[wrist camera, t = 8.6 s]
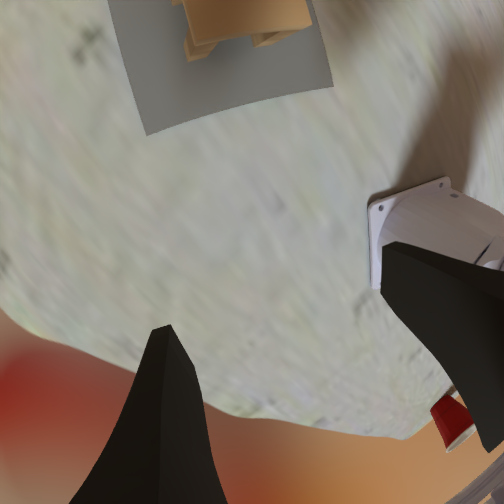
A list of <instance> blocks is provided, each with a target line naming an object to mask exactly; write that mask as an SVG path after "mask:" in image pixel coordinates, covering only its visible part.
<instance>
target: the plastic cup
mask: <svg viewBox="0 0 504 504" xmlns="http://www.w3.org/2000/svg"><path fill="white" fill-rule="evenodd" d="M430 412H431V415H432V417H433V419H434V421H435V423H436V425H437V428H438V430H439V432H440V434H441V436H442V438H443V440H444V443H445V446H446V452H447V453H448V452H450V451H452V450H453V449H455V448H456V447H458V446H459V445H460V444H461V443H463V442H464V441H465V440H466V439H467V438H468V437H469V436H471V435H472V434H473V433H474V432H475V431H476V430H477V429H476V426H475V424H474V422H473V419H472V417H471V415H470V413H469V411H468V409H467V408H465V407H464V406H463V405H462V404H460V403H459V402H457V401H456V400H455V399H454V398H453V397H451V396H449V395H446V396H444V397H443V398H441V399H440V400H439V401H438V402H437V403H436V404H435V405H434V406H433V407H432V408H431V410H430Z"/></svg>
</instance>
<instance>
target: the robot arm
mask: <svg viewBox="0 0 504 504" xmlns="http://www.w3.org/2000/svg"><path fill="white" fill-rule="evenodd" d="M380 205H381V207H380V209H379V206H380ZM368 219H369V237H370V269H371V287H372V288H373V289H374V290H377V289H379V288H381V291H380V293H381V295H382V296H383V298H384V299H385V300H386V302H387V303H388V305H389V306H390V307H391V309H392V310H393V312H394V313H395V314H396V315H397V316H398V318H399V319H400V320H401V321H402V322H403V323H404V324H405V325H406V326H407V327H408V328H409V329H410V330H411V332H412V333H413V334H414V335H415V336H416V337H417V338H418V339H419V340H420V341H421V342H422V343H423V344H424V346H425V347H426V348H427V349H428V350H429V351H430V352H431V353H432V354H433V356H434V357H435V358H436V359H437V360H438V362H439V363H440V364H441V366H442V367H443V369H444V370H445V372H446V373H447V375H448V376H449V378H450V379H451V381H452V382H453V384H454V386H455V387H456V389H457V391H458V392H459V394H460V396H461V397H462V399H463V401H464V403H465V405H466V407H467V409H468V411H469V413H470V415H471V417H472V419H473V422H474V424H475V426H476V429H477V431H478V434H479V436H480V439H481V442H482V445H483V447H484V448H485V450H486V451H487V452H488V453H490V452H491V451H492V450H493V449H494V448H496V447H497V446H498V445H499V444H500V443H501V442H502V441H503V440H504V215H503V214H502V213H500V212H499V211H498V210H496V209H494V208H492V207H490V206H488V205H486V204H484V203H482V202H480V201H478V200H476V199H474V198H472V197H470V196H467V195H465V194H463V193H461V192H459V191H456V190H454V189H452V188H451V179H450V178H449V177H447V176H445V177H442V178H439V179H436V180H434V181H431V182H428V183H425V184H422V185H419V186H417V187H414V188H411V189H408V190H405V191H403V192H400V193H397V194H394V195H391V196H389V197H386V198H383V199H380V200H377V201H375V202H372V203H371V204H370V205H369V207H368ZM493 489H494V490H493ZM492 490H493V491H492ZM491 491H492V492H491ZM490 492H491V496H492V497H491V498H490V499H489V500H488V501H486V502H485V503H484V504H504V453H503V454H502V455H501V456H500V457H499V458H498V459H497V460H496V461H495V462H493V464H491V466H489V467H488V468H487V469H486V470H485V471H484V472H483V473H482V474H481V475H479V476H478V477H477V478H476V479H475V480H474V481H473V482H471V483H470V484H469V485H468V486H467V487H465V488H464V489H463V490H462V491H461V492H459V493H458V494H457V495H455V496H454V497H453V498H452V499H450V500H449V501H448V502H446V503H445V504H478V503H479V502H480V501H481V500H482V499H483V498H485V496H487V495H488V494H489V493H490ZM69 504H228V503H227V501H226V498H225V495H224V492H223V489H222V487H221V484H220V481H219V478H218V475H217V471H216V468H215V465H214V461H213V457H212V453H211V447H210V442H209V436H208V430H207V424H206V418H205V412H204V406H203V399H202V393H201V390H200V386H199V382H198V378H197V375H196V371H195V367H194V365H193V363H192V361H191V360H190V358H189V356H188V355H187V353H186V351H185V349H184V348H183V346H182V344H181V342H180V341H179V339H178V337H177V335H176V333H175V332H174V330H173V328H172V326H171V324H170V325H166V326H163V327H160V328H157V329H154V330H152V332H151V334H150V336H149V339H148V342H147V345H146V348H145V351H144V354H143V356H142V359H141V362H140V365H139V368H138V371H137V373H136V376H135V379H134V381H133V385H132V387H131V390H130V392H129V395H128V397H127V400H126V402H125V404H124V407H123V409H122V412H121V414H120V417H119V419H118V421H117V423H116V426H115V427H114V430H113V432H112V434H111V436H110V438H109V440H108V442H107V444H106V446H105V448H104V449H103V451H102V453H101V455H100V457H99V458H98V460H97V462H96V463H95V465H94V467H93V468H92V470H91V472H90V473H89V475H88V477H87V478H86V480H85V481H84V483H83V484H82V486H81V487H80V489H79V490H78V492H77V493H76V494H75V496H74V497H73V498H72V500H71V501H70V502H69Z"/></svg>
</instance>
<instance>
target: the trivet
mask: <svg viewBox="0 0 504 504" xmlns="http://www.w3.org/2000/svg"><path fill="white" fill-rule="evenodd" d="M108 4H109V8H110V12H111V17H112V21H113V24H114V28H115V32H116V36H117V40H118V43H119V47H120V51H121V54H122V58H123V61H124V65H125V68H126V72H127V75H128V79H129V82H130V85H131V89H132V92H133V95H134V98H135V101H136V105H137V108H138V111H139V114H140V117H141V120H142V123H143V126H144V129H145V132H146V135H147V136H148V135H150V134H153V133H156V132H158V131H161V130H164V129H167V128H169V127H172V126H175V125H178V124H181V123H184V122H187V121H190V120H193V119H196V118H199V117H202V116H206V115H209V114H212V113H216V112H219V111H222V110H226V109H230V108H233V107H237V106H241V105H245V104H249V103H253V102H257V101H261V100H265V99H270V98H274V97H279V96H283V95H288V94H293V93H299V92H304V91H310V90H315V89H322V88H328V87H334V85H333V81H332V76H331V72H330V67H329V63H328V59H327V55H326V51H325V47H324V43H323V40H322V36H321V32H320V29H319V25H318V22H317V18H316V15H315V11H314V8H313V5H312V2H311V0H306V4H307V7H308V10H309V14H310V17H311V21H312V25H310V26H308V27H306V28H304V29H302V30H300V31H298V32H296V33H294V34H292V35H290V36H288V37H286V38H284V39H282V40H280V41H278V42H276V43H274V44H272V45H268V46H262V47H255V48H254V47H253V43H252V39H251V36H250V35H249V36H243V37H237V38H231V39H226V40H221V41H219V42H218V44H217V45H216V46H215V47H214V49H213V50H212V51H211V52H210V54H209V55H208V56H207V57H206V58H202V59H198V60H194V61H191V62H188V61H187V58H186V54H185V51H184V47H183V45H184V41H185V38H186V34H187V31H188V27H189V23H188V20H187V16H186V12H185V9H184V5H183V4H179V5H175V6H172V3H171V0H108Z"/></svg>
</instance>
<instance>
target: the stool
mask: <svg viewBox="0 0 504 504" xmlns="http://www.w3.org/2000/svg"><path fill="white" fill-rule="evenodd" d="M171 3H172V6H175V5H179V4H183V5H184V9H185V12H186V16H187V20H188V23H189V27H188V31H187V34H186V38H185V41H184V45H183V47H184V51H185V54H186V58H187V61H188V62H191V61H194V60H198V59H202V58H206V57H207V56H208V55H209V54H210V52H211V51H212V50H213V49H214V47H215V46H216V45H217V44H218V42H219V41H221V40H226V39H231V38H237V37H243V36H249V35H250V36H251V39H252V43H253V47H254V48H255V47H262V46H268V45H272V44H274V43H276V42H278V41H280V40H282V39H284V38H286V37H288V36H290V35H292V34H294V33H296V32H298V31H300V30H302V29H304V28H306V27H308V26H310V25H312V21H311V17H310V14H309V10H308V7H307V4H306V0H171Z"/></svg>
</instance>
